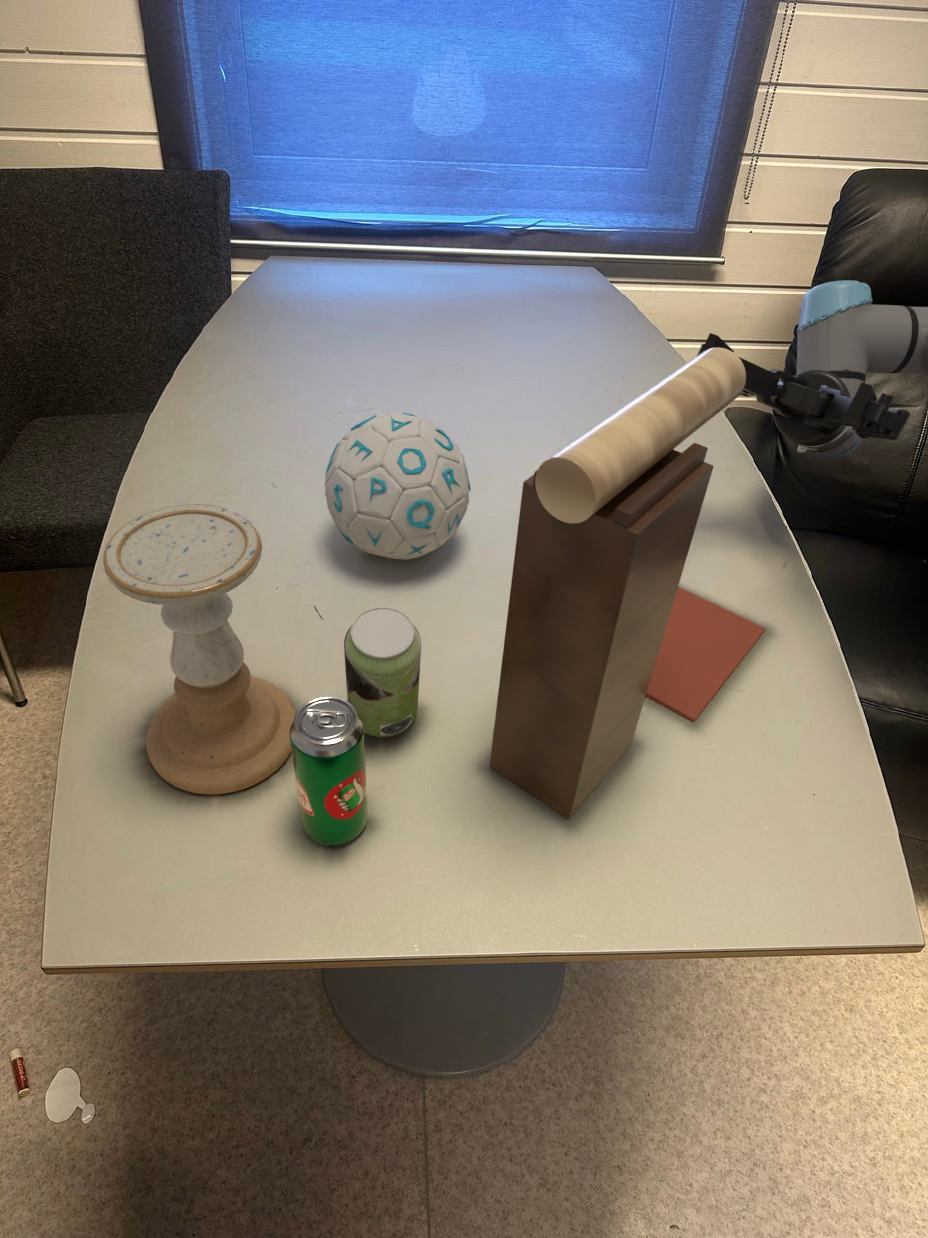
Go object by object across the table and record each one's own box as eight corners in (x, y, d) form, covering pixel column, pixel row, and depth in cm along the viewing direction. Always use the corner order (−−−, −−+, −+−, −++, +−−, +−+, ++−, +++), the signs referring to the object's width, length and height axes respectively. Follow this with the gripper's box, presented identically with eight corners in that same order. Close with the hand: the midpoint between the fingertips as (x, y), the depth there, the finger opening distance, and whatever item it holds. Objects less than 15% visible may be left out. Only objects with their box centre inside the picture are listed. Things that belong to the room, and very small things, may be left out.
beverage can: (407, 684, 75) (408, 583, 67) (430, 745, 70) (434, 644, 62) (339, 698, 74) (332, 596, 66) (357, 761, 69) (352, 659, 60)
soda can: (303, 796, 66) (289, 693, 58) (367, 792, 66) (362, 690, 58) (300, 852, 62) (286, 750, 54) (368, 847, 63) (363, 746, 55)
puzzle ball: (306, 570, 87) (295, 444, 77) (358, 495, 98) (354, 376, 88) (444, 601, 84) (451, 475, 74) (481, 520, 95) (491, 401, 85)
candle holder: (306, 685, 75) (286, 497, 61) (288, 798, 65) (259, 607, 52) (168, 682, 74) (117, 492, 61) (130, 795, 65) (59, 601, 51)
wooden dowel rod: (686, 392, 60) (700, 339, 57) (737, 411, 58) (753, 357, 56) (531, 507, 48) (539, 446, 45) (589, 534, 46) (601, 473, 44)
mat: (764, 631, 83) (765, 628, 83) (693, 722, 74) (694, 719, 74) (659, 580, 89) (660, 577, 88) (580, 659, 79) (581, 656, 79)
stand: (631, 745, 71) (718, 451, 52) (569, 820, 65) (641, 519, 46) (554, 700, 75) (609, 408, 56) (488, 767, 69) (524, 466, 49)
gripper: (915, 488, 84) (905, 468, 66) (695, 406, 95) (634, 370, 77) (953, 417, 82) (954, 376, 64) (724, 342, 93) (668, 289, 75)
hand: (779, 373), depth 70 cm, fingers open, 13 cm apart
